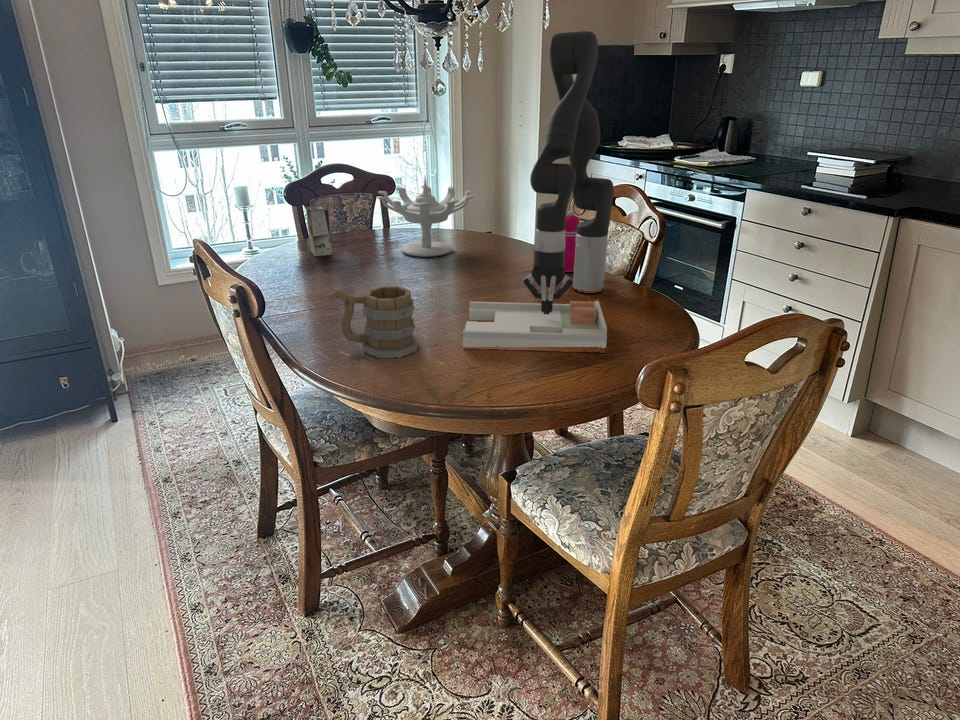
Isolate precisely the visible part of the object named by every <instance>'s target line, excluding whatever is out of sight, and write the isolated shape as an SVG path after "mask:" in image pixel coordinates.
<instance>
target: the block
mask: <svg viewBox="0 0 960 720" xmlns="http://www.w3.org/2000/svg"><path fill="white" fill-rule="evenodd" d="M569 304H570V310H569V318H570V324H589V325H594V323H595V312H596V309H595V305H594V304H595V301H582V300H581V301H580V300H579V301H577V300H576V301H575V300H570V301H569Z"/></svg>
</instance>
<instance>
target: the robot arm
mask: <svg viewBox="0 0 960 720" xmlns="http://www.w3.org/2000/svg"><path fill="white" fill-rule="evenodd" d="M548 57H549V64H550V68H551V69H550V70H551V73H552V76H553V80H554V85H555V87H556V91H557V96H558V100H559V102H558V103H557V105H556V107H554V109H553V111H552V112H551V115H550V116H549V119H548V123H547V127H546V133H545V138H544V143H543V147H542V148H541V152H540V153H539V156H538V158H537V160H536V162H535V164H534V166H533V168H532V170H531V173H530V178H529V179H530V180H529V181H530V186H531V188H532V190H533V191H534V192H535V193H537V194H546V195H547V194H549V195H557V199H556V201H552V202H546V203H541V204H539V206H537V208H536V227H535V236H534V245H533V246H534V247H533V248H534V250H533V268H532V269H531V273H530V274H529V275H527V276H524V277H523V284H524V285H525V287H526V288H527V289H528V290H529V291H530V293H531V294H532V295H533V297H534V298H535V299H538V300H539V299H540V302H541V311H542V312H544V314H546V313H547V314H549V312H552V306H553V304H554V303H553V302H554V300H556V299H558V300H560V298H561V297H562V296H563V295H564V294H565V293H566V292H567V291H568V289H569V288H570V287H571V286H572V288H573V287H574V288H575V289H578V290H584V291H595V290H599V289H602V288H603V289H604V281H605V274H606V272H605V271H606V261H607V250H608V239H609V238H608V237H609V230H610V228H609V227H610V225H611V223H610V222H611V214H612V207H613V200H614V189H615V188H614V183H613V181H612V180H611V179H609V178H601V177H592V176H591V177H589V176H588V173H587V172H588V171H587V168H588V164H589V162H590V161H591V159H592V157H593V156H594V154H595V153H596V151H597V150H598V147H599V145H600V142H601V129H600V119H599V115H598V113H597V111H596V109H595V108H594V107H593V105H592V104H591V103H590V101H589V100H588V99H587V96H588V92H589V90H590V87H591V84H592V83H591V82H592V80H593V76H594V73H595V70H596V66H597V62H598V57H599V43H598V39H597V36H596V34H595V33H594V32H593V31H590V30H589V31H588V30H587V31H586V30H585V31H584V30H583V31H571V32H569V31H567V32H559V33H558V32H557V33H555V34H553V35H552V37H551V38H550V40H549V45H548ZM572 75H576V76H575V78H573V76H572ZM564 158H565V159H566V158H568V159H569V163H557V162H556V163H554V162H555V161H557V160H559V159H560V160H561V159H564ZM571 196H572V198H573V203H574V205H575V207H576V208H577V209H580V210H583V211H592V212H593V211H594V212H596V213H595V216H594V217H593V218H591V219H587V220H584V221H580V223H579V224H578V225H577V232H576V248H575V262H574V273H573V277H570V276H568V275H567V273H565V270H564V256H565V246H566V244H565V239H566V238H565V223H566V216H567V211H568V205H569V202H570V199H571ZM534 281H535V282H536V284H537V285H538V286H539V287H540V290H538V289H537V287H536V286H535V285H534ZM561 282H562V284H561V286H560V287H559V288H558V289H557V290H556V291H555V289H556V288H555V287H557V286H558V285H560V283H561ZM547 288H548V291H547Z"/></svg>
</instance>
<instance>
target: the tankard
mask: <svg viewBox="0 0 960 720" xmlns="http://www.w3.org/2000/svg"><path fill="white" fill-rule="evenodd" d="M411 293H412V291H411V289H408V288H405V287H402V286H396V285H395V286H394V285H391V286H389V285H386V286H379V287H374V288H370V289H368V290H367V291H366V293H365V295H355V294H354V295H353V294H351V293H348V292H346V291H344V290H341V289H339V288H337V289H335V290H333V291H332V292H330V293H329V294H328V298H329V299H330V301H331V302H334V301H335V300H338V299H339V300H342V301H343V302H344V303H343V305H344V307H343V309H344V312H343V314H342V318H341V322H340V328H341V329H340V330H341V333H342V335H343V336H344V337H345V339H346V340H347V342H351V343H358V344H361V343H363V345H362V352H363V353H365V352H366V353H365V354H367V353H368V354H367V355H369V354H370V356H372V355H373V356H372V357H374V356H375V358H376V357H377V358H376V359H400V357H401V358H403V357H402V356H404V357H406V356H409V355H411V354H410V353H412V354H414V353H416V352H417V351H418V345H419V340H418V338H419V337H417V336H416V335H414V332H415V328H416V324H415V318H413V317H412V316H413V315H414V309H415V304H414V303H415V302H414V299H412V294H411ZM355 304H363V306H362V309H363V316H364V317H366V321H365V325H364V332H363V333H355V332H353V330H352V328H351V327H352V326H351V322H352V319H353V316H354V313H355V310H354V309H355ZM415 351H416V352H415ZM413 352H414V353H413ZM408 354H409V355H408ZM405 355H406V356H405ZM379 357H381V358H379ZM395 357H397V358H395Z"/></svg>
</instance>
